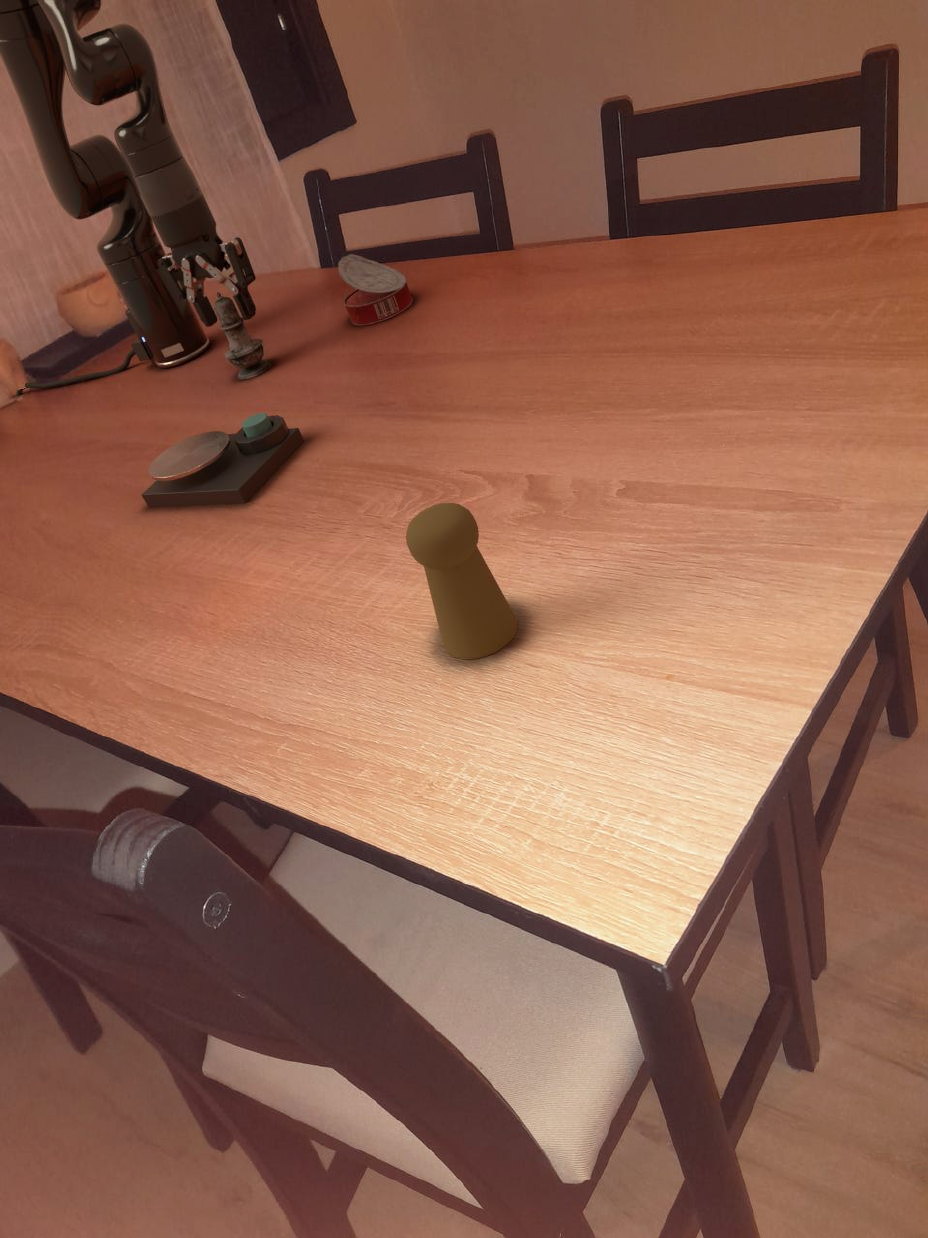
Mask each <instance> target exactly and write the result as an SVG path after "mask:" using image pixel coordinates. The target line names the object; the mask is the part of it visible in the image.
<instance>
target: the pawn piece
mask: <svg viewBox="0 0 928 1238" xmlns="http://www.w3.org/2000/svg"><path fill="white" fill-rule="evenodd" d="M479 537H480V534H479V527H478V523H477V520H476V519H475V517H474V515H473V513H472V512H471V511H470V510H469V509H468V508H466V507H465V506H463V505H462V504H460V503H456V502H444V503H443V502H442V503H437V504H433V505H431V506H429V507H427V508H424V509H423V510H422V511H421V510H420V512H418V514H416V515H415V516H414V517H413V518H411V520H410V521H409V523H408V524H407V530H406V533H405V542H406V546H407V548H408V550H409V553H410V556H412V559H414V560H415V561H416V562H417V563H418V564H419V565H421V566H423V568H424V572H425V573H424V574H425V577H426V581H427V585H428V589H429V593H430V598H431V601H432V605H433V609H434V614H435V617H436V622H437V625H438V631H439V634H440V639H441V642H442V646H443V649H444V651H445V652H446V653H447V654H448V655H450V656H451V657H453V658H456V659H459V660H476V659H481V658H486V657H488V656H490V655H493V654H495V653H497V652H499V651H500V650H502V649H503V648H504V647H506V646H507V645H508V644H509V643H510V642H511V641H512V640H513V639H514V638H515V635H516V634H517V631H518V626H519V621H518V619H517V617H516V615H515V613H514V611H513V610H512V608H511V606H510V604H509V602H508V600H507V599H506V597H505V595H504V593H503V591H502V589H501V587H500V586H499V584H498V582H497V580H496V578H495V576H494V574H493V573H492V571H491V569H490V567H489V566H488V563H487V562H486V559H485V558H484V555H482V553H481V551H480V549H479V547H478V544H479Z"/></svg>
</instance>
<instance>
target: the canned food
mask: <svg viewBox="0 0 928 1238" xmlns="http://www.w3.org/2000/svg"><path fill="white" fill-rule="evenodd" d="M337 264H338V265H337V267H338V274H339V277H341V279H342V280H343V281H344V283H346V284H347V285H349V286H350V287H351V288H353V289H356V290H354V291H352V292H351V293H350V294H348V295H347V296H346V297H345V299H344V301H343V305H344V306H345V309H346V312H347V315H348V317H349V320H350V322H351V324H353V325H355V326H369V325H374V324H377V323H380V322H384V321H386V320H389V319H391V318H393V317H395V316H397V315H399V314H401V313H402V312H404V311H405V310H406V309H408V308H409V307H410V306H411V305H412V303H413V300H414V299H413V296H412V294H411V291H410V288H409V286H408V282H407V279H406V276H405V275H404V274H403V273H401V272H400V271H399V270H397V269H395V268H392V267H390V266H388V265H387V264H383V263H379V262H377V261H375V260H371V259H368V258H366V257H364V256H361V255H357V254H353V253H350V254H348V255H343V256H342V257H341V258H340V260H339V261H338V263H337Z"/></svg>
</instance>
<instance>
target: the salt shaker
mask: <svg viewBox="0 0 928 1238" xmlns="http://www.w3.org/2000/svg"><path fill="white" fill-rule="evenodd" d="M216 297H217V299H216V300H215V301H214V303H213V306H212V308H213V310H214V312H215V314H216V316H217V319H218V320H219V323H220V324H221V325H220V327H219V329H220V330H221V331H223V332H224V334H225V336H226V338H227V340H228V343H229V344H228V345H229V349H227V351H226V352H225V354H224V358H226V359H228V360H229V362H230V363H231V364H232V365H233V366H234V367H236V368H239V369H240V370H239V371H238V373H237V375H236V377H237V379H238V380H241V381H242V380H243V381H245V380H249V379H252V378H255V377H258V376H260V375H261V374H263V373H265V372H266V371H268V370H269V369H270V368H271V366H272V363H271V361H268V360H262V359H263V357H264V346H263V344H264V340H263V339H262V338H253V337H252V335H250V333H249V331H248V329H247V327H246V325H245V323H244V321H245V320H244V319H243V317H242V316H240V315H241V314H239V313H240V312H239V310H238V309H237V307H236V305H235V301H233V298H230V297H229V296H222V293H220V292H218V291H217V292H216Z"/></svg>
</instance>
